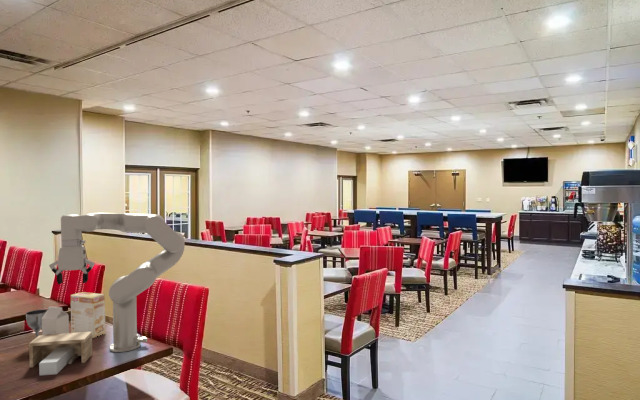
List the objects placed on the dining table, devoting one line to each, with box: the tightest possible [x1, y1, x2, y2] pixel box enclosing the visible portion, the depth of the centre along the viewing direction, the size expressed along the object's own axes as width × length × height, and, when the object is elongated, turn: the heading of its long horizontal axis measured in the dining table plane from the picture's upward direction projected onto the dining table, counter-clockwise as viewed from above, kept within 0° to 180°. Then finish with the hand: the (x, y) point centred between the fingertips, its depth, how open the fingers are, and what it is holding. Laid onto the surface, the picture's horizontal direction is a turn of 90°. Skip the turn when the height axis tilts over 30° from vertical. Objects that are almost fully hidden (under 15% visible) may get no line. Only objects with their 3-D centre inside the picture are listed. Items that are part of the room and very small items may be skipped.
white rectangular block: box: [38, 346, 74, 376], centre depth 166 cm, size 6×16×5 cm, turn 10°
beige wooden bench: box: [28, 332, 93, 368], centre depth 171 cm, size 20×9×10 cm, turn 102°
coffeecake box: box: [70, 291, 106, 339], centre depth 201 cm, size 15×7×20 cm, turn 69°
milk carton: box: [41, 306, 70, 335], centre depth 182 cm, size 7×7×19 cm
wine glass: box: [25, 308, 48, 348], centre depth 188 cm, size 8×8×15 cm
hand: (72, 283), depth 178 cm, fingers open, 9 cm apart
